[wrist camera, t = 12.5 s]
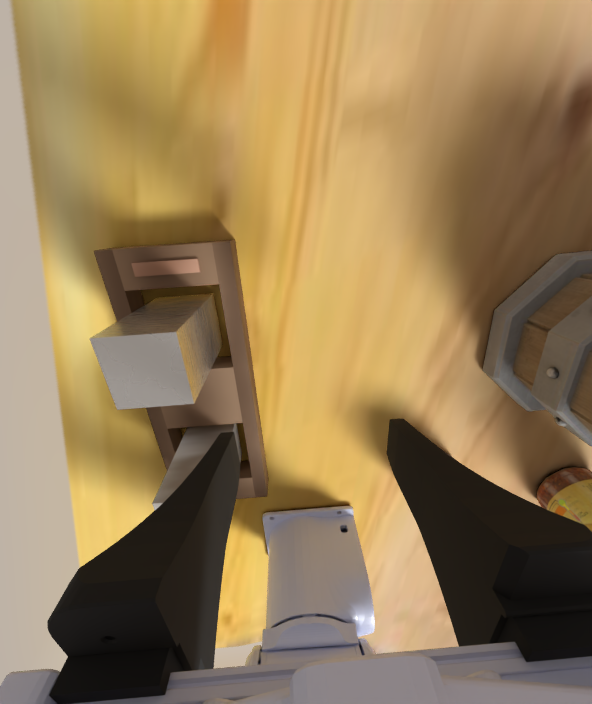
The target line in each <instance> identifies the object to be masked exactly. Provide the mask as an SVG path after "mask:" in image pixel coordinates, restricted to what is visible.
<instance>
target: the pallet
mask: <svg viewBox="0 0 592 704" xmlns="http://www.w3.org/2000/svg"><path fill="white" fill-rule="evenodd" d="M94 254H95V257H96V260H97V263H98V266H99V269H100V272H101V275H102V278H103V281H104V284H105V287H106V290H107V293H108V296H109V299H110V302H111V305H112V308H113V311H114V314H115V316H116V319H117V322H118V321H119V320H121V319H123V318H124V317H126V316H128V315H129V314H131V313H133V312H134V311H136V310H138V309H139V308H141V307H143V306H144V305H145V304H144V301H143V297H142V294H141V290H145V289H159V288H174V287H188V286H202V285H216V284H219V287H220V293H221V299H222V305H223V311H224V317H225V322H226V328H227V334H228V340H229V346H230V352H231V356H227V357H217V358H216V360H215V362H214V364H213V366H212V368H211V370H210V372H209V374H208V376H207V378H206V380H205V382H204V384H203V387H202V389H201V391H200V393H199V395H198V397H197V399H196V401H195V403H194V404H184V405H172V406H159V407H146V409H147V412H148V415H149V418H150V421H151V424H152V427H153V430H154V433H155V436H156V439H157V442H158V445H159V448H160V451H161V454H162V457H163V460H164V463H165V466H166V469H167V473H166V475H165V477H164V479H163V481H162V484H161V486H160V488H159V490H158V492H157V494H156V497H155V499H154V501H153V503H152V504H153V507H154V509H155V510H156V509H157V508H158V507H159V506H160V505H161V504H162V503H164V502H165V500H166V499H167V498H168V497H169V496H170V495H171V494H172V493H173V492H174V491H175V490H176V489H177V488H178V487H179V486H180V485H181V484H182V482H183V481H184V480H185V479H186V478H187V476H188V475H189V474H190V473H191V472H192V471H193V469H194V468H195V467H196V466H197V464H198V463H199V462H200V460H201V459H202V458H203V456H204V455H205V454H206V452H207V451H208V450H209V448H210V447H211V445H212V444H213V443H214V441H215V440H216V438H217V437H218V435H219V434H220V433H224V432H234V434H235V439H236V444H237V449H238V455H239V460H240V476H239V486H238V491H237V496H236V499H241V498H254V497H266V496H267V495H268V473H267V465H266V458H265V451H264V444H263V437H262V430H261V422H260V415H259V408H258V401H257V394H256V387H255V379H254V372H253V365H252V358H251V351H250V344H249V336H248V329H247V322H246V315H245V308H244V301H243V293H242V286H241V279H240V272H239V265H238V258H237V250H236V243H235V240H222V241H207V242H193V243H178V244H164V245H149V246H134V247H120V248H109V249H102V250H95V251H94ZM237 423H243V427H244V433H245V439H246V445H247V451H248V457H249V461H242V462H241V457H242V450H241V445H240V439H239V434H238V428H237ZM183 427H187V429H186V432H185V434H184V436H183V437H182V434H181V430H180V428H183Z"/></svg>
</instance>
